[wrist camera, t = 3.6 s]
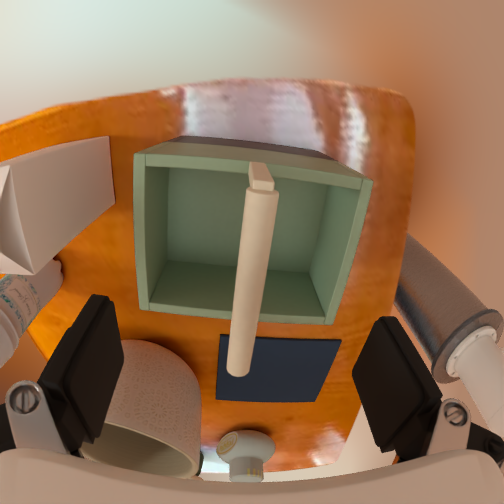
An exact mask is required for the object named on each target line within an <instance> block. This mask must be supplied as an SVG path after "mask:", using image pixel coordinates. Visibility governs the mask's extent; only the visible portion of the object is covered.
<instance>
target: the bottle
mask: <svg viewBox="0 0 504 504" xmlns="http://www.w3.org/2000/svg"><path fill="white" fill-rule="evenodd" d="M60 270H61V262H60V261H59V260H57V261H54V260H53V259H51V260H50V261H49V262H48V263H47V264H46V265H45V266H44V267H43V268H42V269H41V270H40V271H39V272H38V273H37V274H35V275H19V274H6V275H5V276H4V277H3V278H2V279H1V280H0V368H1V367H2V366H3V365H4V364H5V363H6V361H8V360H9V359H10V357H12V356H13V353H14V350H15V349H16V348H17V347H18V345H19V338H20V337H21V336H22V334H23V333H24V332H25V330H26V329H27V328H28V326H29V325H30V324H31V322H32V321H33V320H34V318H35V317H36V316H37V314H38V313H39V312H40V311H41V309H42V308H43V307H44V306H45V305H46V304H47V303H48V302H49V301H50V300H51V299H52V298H53V297H54V296H55V294H56V293H57V292H58V290H59V288H60V287H61V285H62V282H63V278H64V276H63V274H62V273H61V272H60Z"/></svg>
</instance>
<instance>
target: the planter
mask: <svg viewBox="0 0 504 504" xmlns="http://www.w3.org/2000/svg"><path fill="white" fill-rule="evenodd" d="M121 343H122V348H123V352H124V364H123V367H122V370H121V373H120V376H119V379H118V381H117V384H116V387H115V390H114V393H113V396H112V399H111V403H110V406H109V409H108V412H107V415H106V418H105V422H104V425H103V428H102V432H101V435H100V437H99V438H95V440H94V444H90V443H86V442H83V443H82V446H81V448H80V450H81V452H82V454H83V456H85V457H87V458H88V459H90V460H92V461H95V462H98V463H102V464H106V465H110V466H114V467H119V468H123V469H128V470H133V471H138V472H143V473H149V474H155V475H161V476H167V477H175V478H183V479H187V478H190V477H192V476H194V475H195V474H196V473H197V472H198V470H199V460H200V437H201V414H202V403H201V392H200V387H199V383H198V381H197V378H196V376H195V374H194V373H193V371H192V370H191V368H190V367H189V366H188V365H187V364H186V363H185V362H184V361H183V360H182V359H181V358H180V357H179V356H177V355H176V354H175V353H173V352H172V351H170V350H168V349H166V348H164V347H162V346H160V345H158V344H155V343H152V342H148V341H143V340H135V339H127V340H121Z"/></svg>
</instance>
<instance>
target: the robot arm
mask: <svg viewBox="0 0 504 504" xmlns="http://www.w3.org/2000/svg"><path fill="white" fill-rule="evenodd" d="M496 335H497V334H496V331H495V330H494V328H493V327H491V326H483V327H480V328H479V329H477V330H475V331H473V332H472V333H471V334H469V335H468V336H467V337H466V338H465V339H464V340H462V341H461V343H460V344H459V345H458V346H457V347H456V348H455V350H454V351H453V352H452V354H451V355H450V357H449V359H448V362H447V365H446V371H447V373H448V374H449V376H451V377H460V379H461V380H462V382H463V384H464V385H465V387H466V388H467V390H468V392H469V394H470V395H471V397H472V399H473V400H474V402H475V404H476V405H477V407H478V409H479V411H480V413H481V415H482V416H483V418H484V420H485V422H486V423H487V425H488V427H489V429H490V431H489V430H487V429H484V428H482V427H480V426H478V425H476V424H474V423H472V422H471V414H470V411H469V409H468V408H467V406H466V405H465V404H464V403H463V402H461V401H460V400H457V399H454V398H453V399H451V398H450V399H446V400H444V401H443V402H442V401H441V398H442V396H443V395H442V393H441V391H440V389H439V387H438V386H437V384H436V382H435V380H434V378H433V377H432V375H431V373H430V371H429V370H428V368H427V366H426V365H425V363H424V361H423V360H422V358H421V356H420V355H419V353H418V351H417V350H416V348H415V346H414V345H413V343H412V341H411V340H410V338H409V337H408V335H407V333H406V332H405V330H404V329H403V327H402V326H401V324H400V323H399V321H398V319H397V318H396V317H394V316H382V317H380V318H379V319H378V320H377V321H375V323H374V325H373V327H372V329H371V332H370V334H369V336H368V338H367V340H366V343H365V345H364V347H363V349H362V351H361V353H360V355H359V357H358V359H357V361H356V363H355V365H354V367H353V370H352V377H353V380H354V383H355V386H356V389H357V391H358V394H359V397H360V400H361V403H362V405H363V408H364V411H365V414H366V417H367V420H368V423H369V426H370V429H371V432H372V434H373V437H374V441H375V443H376V445H377V446H378V447H380V449H381V452H382V453H384V452H389V451H393V450H394V449H395V451H396V457H395V459H394V461H393V463H392V465H390V466H385V467H381V468H377V469H372V470H368V471H363V472H358V473H352V474H346V475H340V476H333V477H326V478H318V479H309V480H299V481H283V482H217V481H203V480H192V479H183V478H175V477H167V476H161V475H155V474H149V473H143V472H138V471H133V470H128V469H123V468H119V467H114V466H110V465H106V464H102V463H98V462H95V461H91V460H87V459H84V456H83V454H82V452H81V450H80V448H81V446H82V443H83V442H86V443H90V444H94V440H95V438H99V437H100V435H101V432H102V428H103V425H104V422H105V418H106V415H107V412H108V409H109V406H110V403H111V399H112V396H113V393H114V390H115V387H116V384H117V381H118V379H119V376H120V373H121V370H122V367H123V364H124V352H123V348H122V343H121V338H120V333H119V328H118V323H117V318H116V312H115V306H114V302H113V301H110V299H109V297H108V296H103V295H96V294H93V295H91V297H90V298H89V300H88V301H87V303H86V304H85V306H84V307H83V309H82V310H81V312H80V314H79V315H78V317H77V318H76V320H75V322H74V323H73V325H72V326H71V327H70V328H68V329H67V330H66V332H65V334H64V335H63V337H62V339H61V340H60V342H59V344H58V345H57V347H56V349H55V350H54V352H53V354H52V356H51V357H50V359H49V361H48V363H47V365H46V366H45V368H44V370H43V372H42V374H41V376H40V378H39V379H38V381H37V383H35V382H33V381H28V380H25V381H20V382H17V383H15V384H14V385H13V386H12V387H10V389H9V390H8V392H7V394H6V397H5V403H4V404H2V405H0V504H504V441H503V440H502V438H501V437H503V438H504V348H499V347H498V346H497V344H496V343H495V341H496Z"/></svg>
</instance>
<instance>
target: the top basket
mask: <svg viewBox="0 0 504 504" xmlns="http://www.w3.org/2000/svg"><path fill="white" fill-rule="evenodd" d="M372 186H373V180H371V179H369V178H367V177H366V176H364V175H362V174H360V173H358V172H357V171H355V170H353V169H351V168H349V167H347V166H346V165H344V164H342V163H340V162H338V161H332V160H327V159H321V158H316V157H310V156H303V155H297V154H290V153H284V152H276V151H269V150H261V149H252V148H243V147H234V146H223V145H211V144H198V143H181V142H162V143H160V144H157V145H154V146H152V147H149V148H147V149H144V150H142V151H139V152H137V153H134V166H133V218H134V244H135V261H136V275H137V287H138V297H139V306H140V310H147V311H149V310H150V311H156V312H164V313H172V314H181V315H190V316H199V317H209V318H220V319H231V329H230V338H229V348H228V357H227V371H228V372H229V373H230V374H231V375H233V376H236V377H242V376H245V375H246V374H247V373H248V372H249V369H250V364H251V359H252V353H253V347H254V342H255V336H256V331H257V325H258V322H273V323H292V324H316V325H323V324H324V325H333V322H334V319H335V316H336V313H337V311H338V308H339V305H340V302H341V299H342V295H343V292H344V289H345V286H346V283H347V280H348V277H349V273H350V270H351V267H352V263H353V260H354V256H355V253H356V249H357V246H358V242H359V239H360V235H361V231H362V227H363V224H364V220H365V216H366V212H367V208H368V203H369V199H370V195H371V191H372Z"/></svg>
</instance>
